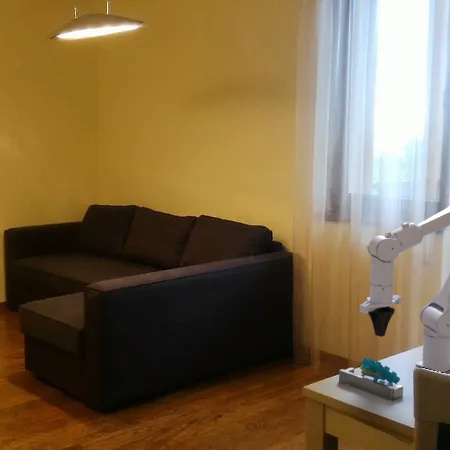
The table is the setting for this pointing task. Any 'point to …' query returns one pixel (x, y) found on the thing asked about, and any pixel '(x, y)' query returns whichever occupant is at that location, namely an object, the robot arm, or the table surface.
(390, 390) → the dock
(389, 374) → the gear
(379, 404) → the table surface
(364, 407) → the table surface
